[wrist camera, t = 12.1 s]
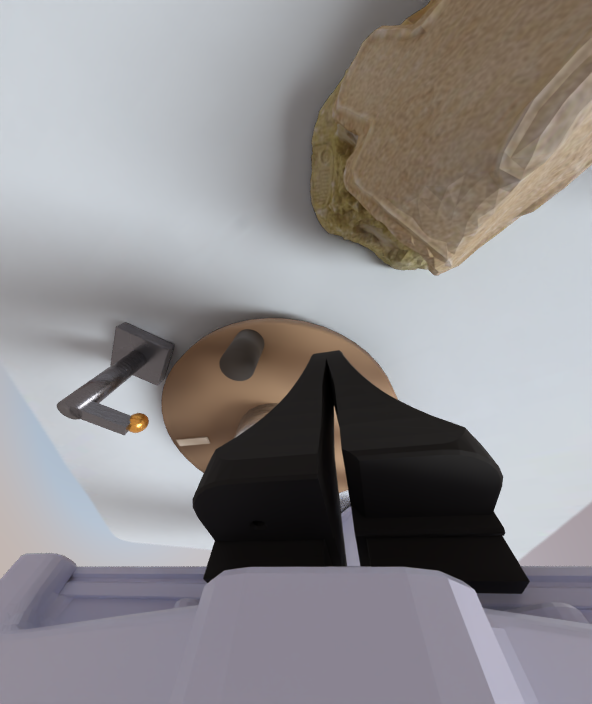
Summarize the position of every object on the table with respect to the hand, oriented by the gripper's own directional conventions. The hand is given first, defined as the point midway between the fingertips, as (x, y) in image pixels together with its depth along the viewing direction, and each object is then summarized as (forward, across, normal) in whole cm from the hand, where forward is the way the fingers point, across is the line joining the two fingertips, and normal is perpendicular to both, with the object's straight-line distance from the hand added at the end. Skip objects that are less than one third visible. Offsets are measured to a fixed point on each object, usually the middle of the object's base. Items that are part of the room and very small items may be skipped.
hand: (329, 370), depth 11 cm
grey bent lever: (+7, +15, 0) cm, 17 cm away
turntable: (+6, +5, +9) cm, 12 cm away
